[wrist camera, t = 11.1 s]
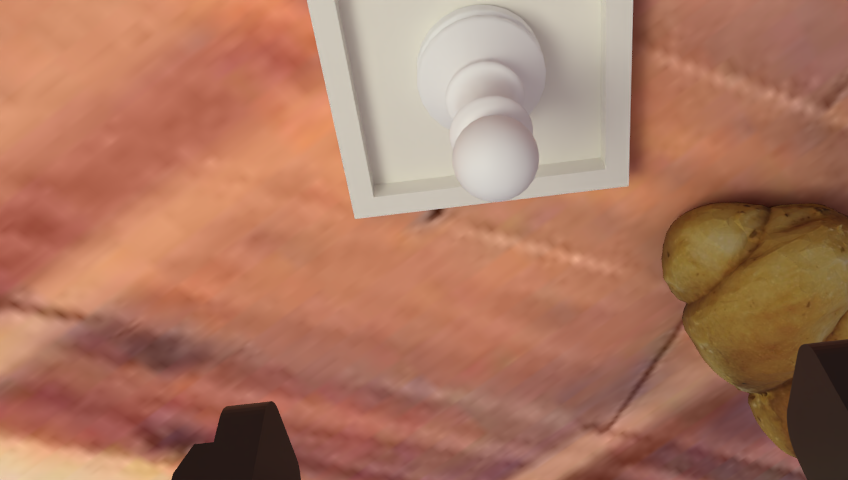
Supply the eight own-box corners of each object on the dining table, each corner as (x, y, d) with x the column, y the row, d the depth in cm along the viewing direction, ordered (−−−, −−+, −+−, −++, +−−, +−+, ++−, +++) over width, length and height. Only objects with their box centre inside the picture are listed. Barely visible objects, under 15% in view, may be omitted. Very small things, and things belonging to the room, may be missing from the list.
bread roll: (606, 246, 39) (647, 364, 32) (782, 113, 35) (869, 219, 28) (753, 373, 44) (813, 496, 38) (920, 271, 40) (1019, 390, 34)
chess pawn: (494, -25, 30) (521, 74, 23) (564, 73, 33) (610, 191, 25) (390, 53, 32) (385, 168, 25) (464, 141, 34) (480, 270, 27)
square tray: (625, -117, 29) (635, -106, 28) (620, 166, 36) (628, 186, 35) (298, -71, 30) (294, -58, 28) (356, 199, 37) (354, 218, 36)
